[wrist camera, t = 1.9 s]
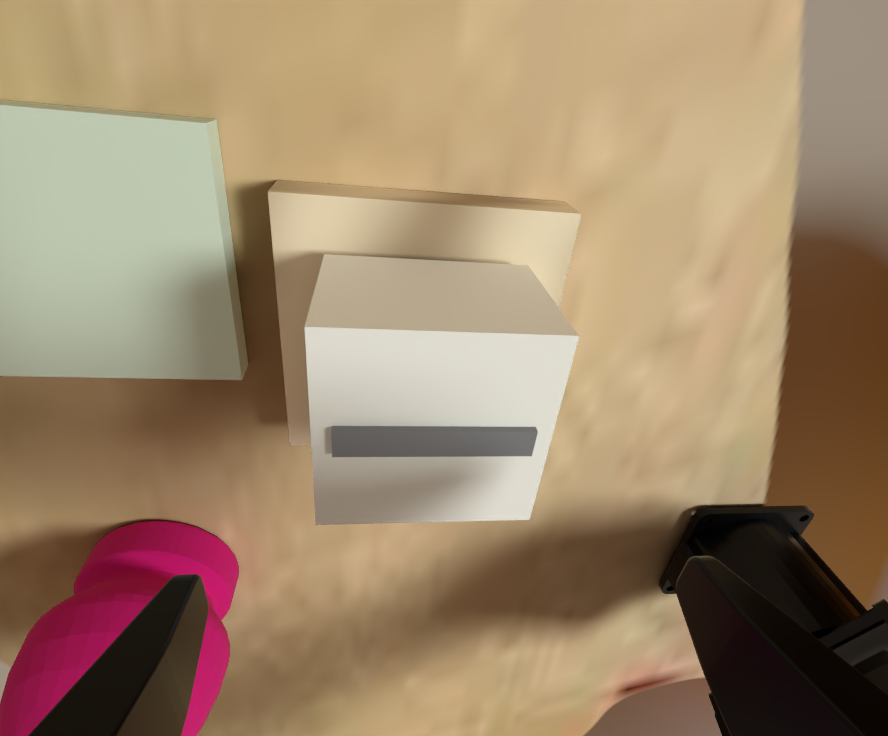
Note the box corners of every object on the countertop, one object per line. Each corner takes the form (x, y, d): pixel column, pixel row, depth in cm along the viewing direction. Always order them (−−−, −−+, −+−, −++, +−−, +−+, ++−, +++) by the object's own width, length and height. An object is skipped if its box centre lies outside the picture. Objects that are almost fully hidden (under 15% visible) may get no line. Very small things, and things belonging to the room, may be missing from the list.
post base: (565, 201, 16) (641, 260, 11) (517, 421, 21) (557, 526, 16) (277, 179, 15) (230, 235, 10) (295, 420, 19) (269, 533, 15)
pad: (216, 119, 14) (206, 123, 13) (248, 364, 18) (242, 380, 17) (-118, 88, 12) (-153, 91, 12) (0, 359, 17) (-20, 375, 16)
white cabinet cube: (528, 265, 15) (582, 340, 11) (497, 422, 18) (531, 525, 14) (324, 254, 14) (303, 331, 10) (329, 421, 17) (315, 531, 13)
